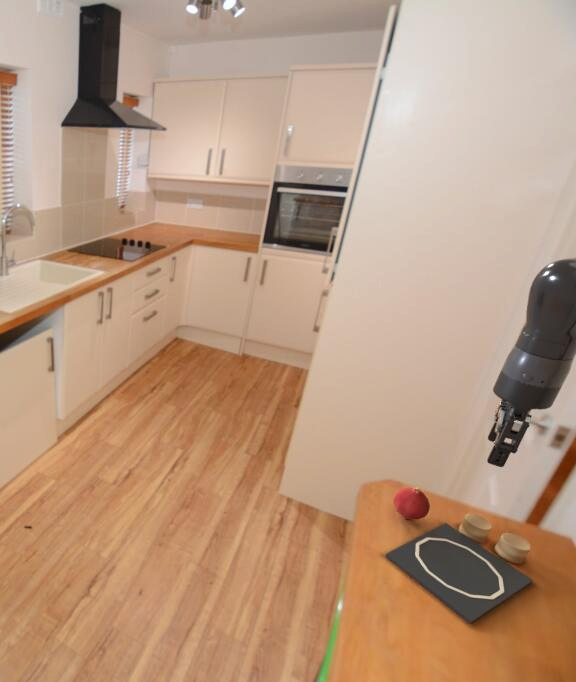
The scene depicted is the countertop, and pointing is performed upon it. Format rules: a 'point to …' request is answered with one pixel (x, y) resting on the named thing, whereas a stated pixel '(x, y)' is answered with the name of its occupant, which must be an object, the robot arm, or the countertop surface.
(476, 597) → the slate board
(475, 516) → the dot
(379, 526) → the countertop surface
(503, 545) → the dot
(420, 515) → the onion
